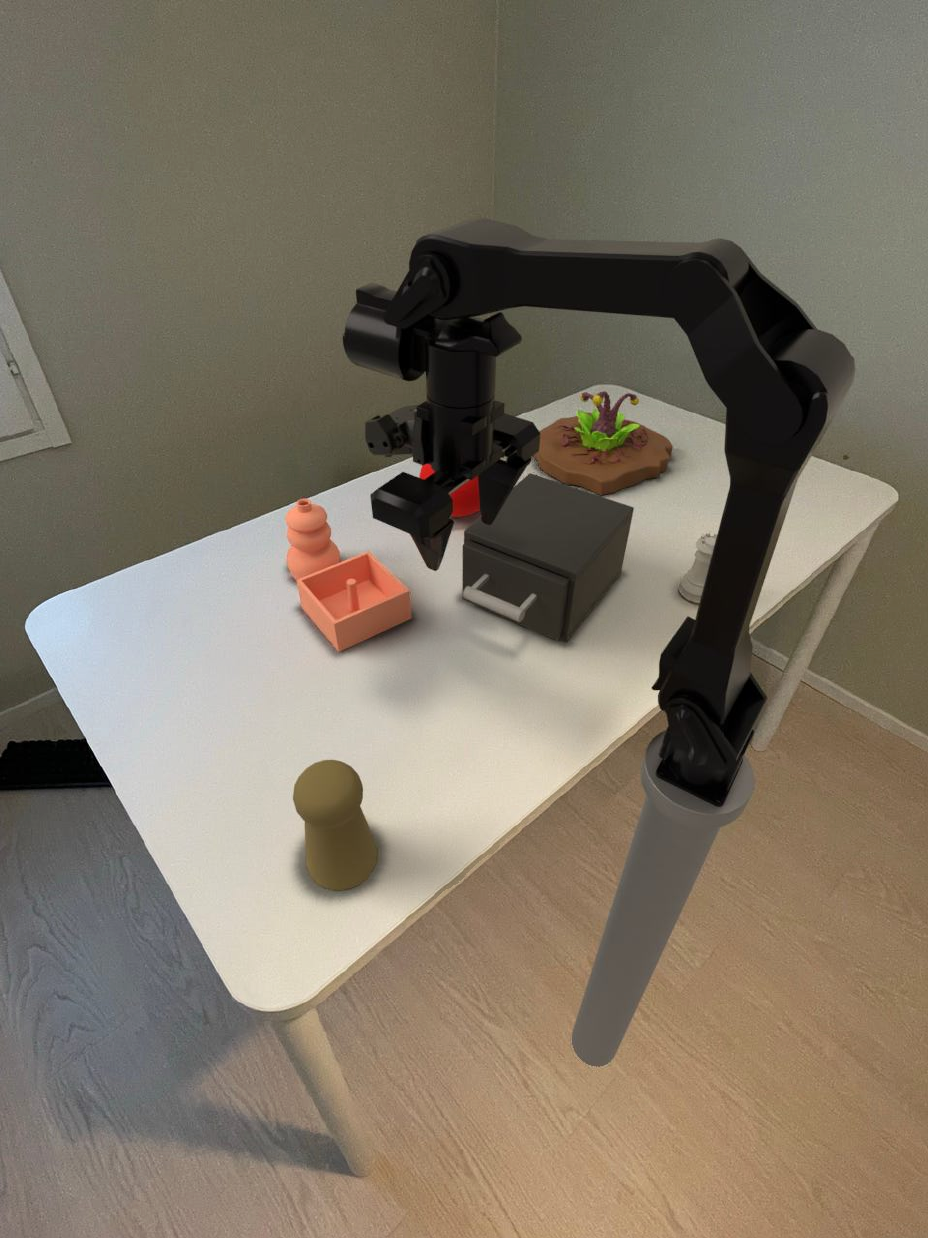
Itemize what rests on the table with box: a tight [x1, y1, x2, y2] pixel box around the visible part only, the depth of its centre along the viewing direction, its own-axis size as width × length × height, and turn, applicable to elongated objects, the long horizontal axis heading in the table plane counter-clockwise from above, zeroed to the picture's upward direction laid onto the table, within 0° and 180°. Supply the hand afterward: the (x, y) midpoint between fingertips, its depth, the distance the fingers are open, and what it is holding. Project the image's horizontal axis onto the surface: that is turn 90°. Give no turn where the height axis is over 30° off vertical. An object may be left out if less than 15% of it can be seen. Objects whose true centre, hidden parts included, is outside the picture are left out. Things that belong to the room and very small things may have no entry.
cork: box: [292, 759, 379, 892], centre depth 56 cm, size 6×6×11 cm
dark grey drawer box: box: [463, 472, 635, 643], centre depth 83 cm, size 15×14×10 cm
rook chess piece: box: [678, 531, 718, 604], centre depth 82 cm, size 4×4×8 cm
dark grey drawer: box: [461, 540, 570, 641], centre depth 80 cm, size 18×13×8 cm
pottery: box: [284, 498, 412, 653], centre depth 81 cm, size 18×10×10 cm, turn 36°
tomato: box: [418, 464, 480, 518], centre depth 95 cm, size 10×10×10 cm
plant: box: [532, 391, 674, 496], centre depth 105 cm, size 20×20×11 cm
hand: (460, 545), depth 69 cm, fingers open, 9 cm apart
